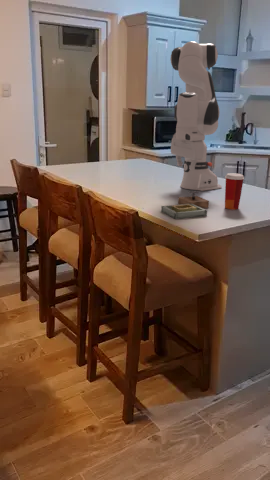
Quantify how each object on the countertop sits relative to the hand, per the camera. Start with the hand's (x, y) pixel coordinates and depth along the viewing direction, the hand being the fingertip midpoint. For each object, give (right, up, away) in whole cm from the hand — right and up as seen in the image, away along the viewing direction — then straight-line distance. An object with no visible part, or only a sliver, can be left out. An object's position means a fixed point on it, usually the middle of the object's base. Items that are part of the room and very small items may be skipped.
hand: (185, 168), depth 181 cm
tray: (-1, -19, 0) cm, 19 cm away
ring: (-1, -18, 0) cm, 18 cm away
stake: (+5, -12, +13) cm, 18 cm away
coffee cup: (+22, -16, +12) cm, 30 cm away
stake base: (+5, -15, +14) cm, 21 cm away
